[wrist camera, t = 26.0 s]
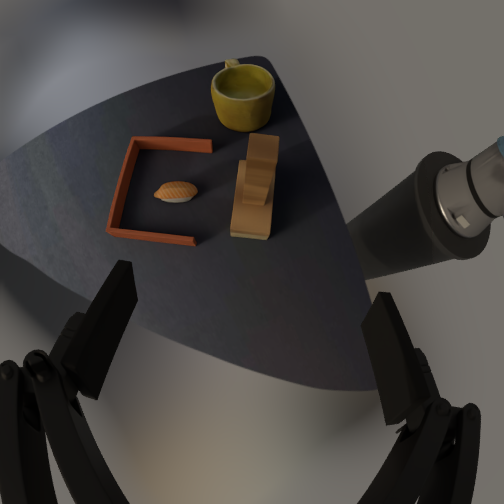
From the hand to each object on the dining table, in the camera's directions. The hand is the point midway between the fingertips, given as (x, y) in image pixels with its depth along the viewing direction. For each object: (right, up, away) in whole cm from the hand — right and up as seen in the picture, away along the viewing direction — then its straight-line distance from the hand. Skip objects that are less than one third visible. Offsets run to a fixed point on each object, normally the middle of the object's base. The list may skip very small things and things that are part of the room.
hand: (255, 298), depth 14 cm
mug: (-2, +27, +29) cm, 39 cm away
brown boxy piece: (0, +9, +26) cm, 27 cm away
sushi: (-11, +10, +25) cm, 29 cm away
